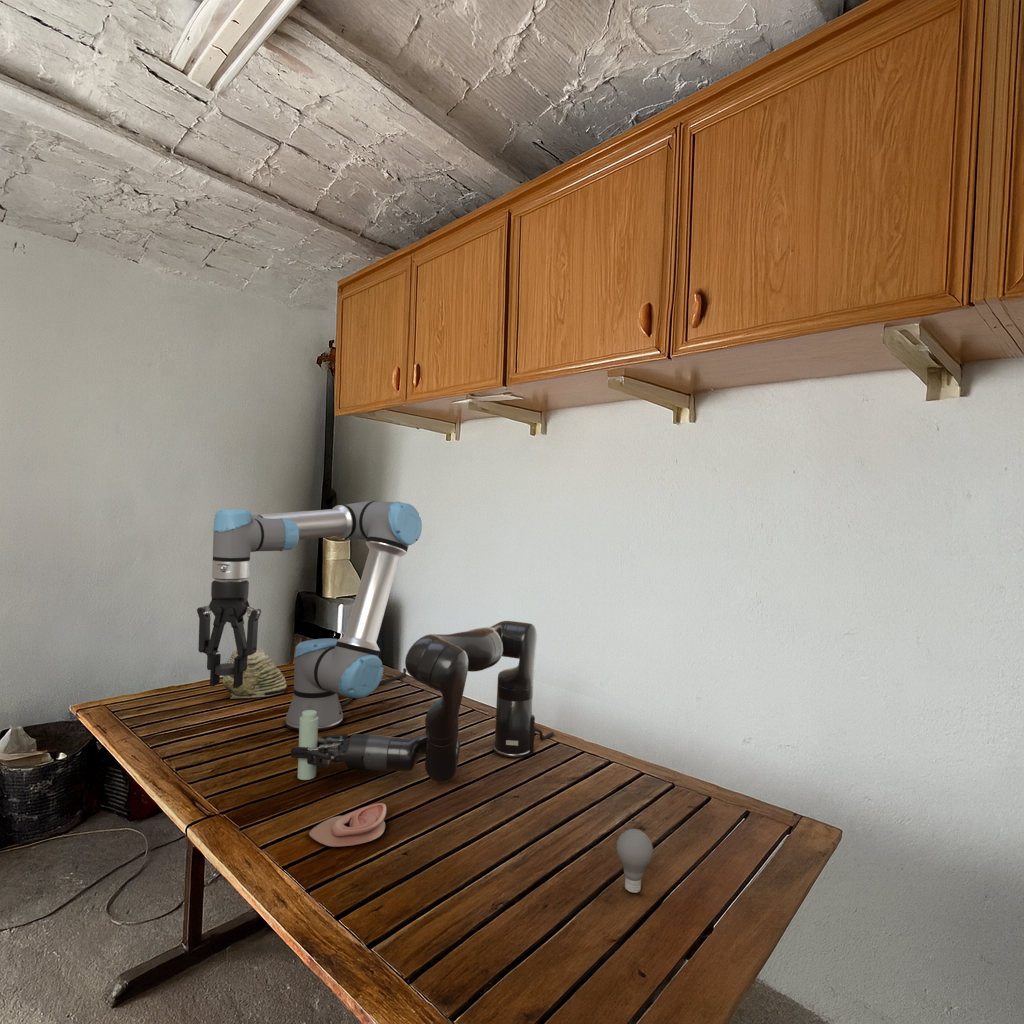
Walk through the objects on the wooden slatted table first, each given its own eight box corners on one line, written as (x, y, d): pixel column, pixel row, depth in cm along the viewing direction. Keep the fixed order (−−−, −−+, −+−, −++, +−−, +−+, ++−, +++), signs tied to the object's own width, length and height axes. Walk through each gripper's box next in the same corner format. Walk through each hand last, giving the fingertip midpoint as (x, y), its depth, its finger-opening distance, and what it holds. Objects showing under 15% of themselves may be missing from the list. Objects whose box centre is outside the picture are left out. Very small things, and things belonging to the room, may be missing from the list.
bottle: (305, 781, 140) (307, 716, 140) (293, 776, 143) (296, 712, 142) (319, 775, 144) (322, 711, 143) (308, 770, 146) (310, 707, 146)
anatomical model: (301, 820, 116) (331, 792, 127) (300, 842, 116) (330, 812, 127) (368, 831, 113) (393, 801, 124) (368, 853, 113) (392, 821, 124)
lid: (233, 668, 142) (233, 662, 142) (241, 673, 139) (242, 666, 139) (211, 672, 139) (211, 665, 139) (219, 677, 136) (220, 669, 136)
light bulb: (610, 879, 108) (613, 822, 108) (644, 879, 109) (647, 822, 109) (619, 902, 102) (622, 840, 102) (655, 901, 103) (658, 840, 103)
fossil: (218, 695, 195) (220, 647, 195) (278, 685, 208) (279, 640, 207) (228, 703, 189) (230, 653, 188) (289, 692, 201) (290, 645, 201)
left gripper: (181, 579, 136) (177, 687, 136) (262, 584, 135) (257, 693, 135) (200, 575, 143) (196, 678, 143) (277, 579, 142) (272, 683, 142)
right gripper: (379, 724, 150) (307, 720, 150) (362, 748, 135) (283, 743, 136) (377, 756, 150) (306, 751, 150) (361, 782, 135) (282, 778, 136)
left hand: (226, 685), depth 139 cm, fingers closed on lid, 4 cm apart
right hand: (295, 747), depth 143 cm, fingers closed on bottle, 4 cm apart
